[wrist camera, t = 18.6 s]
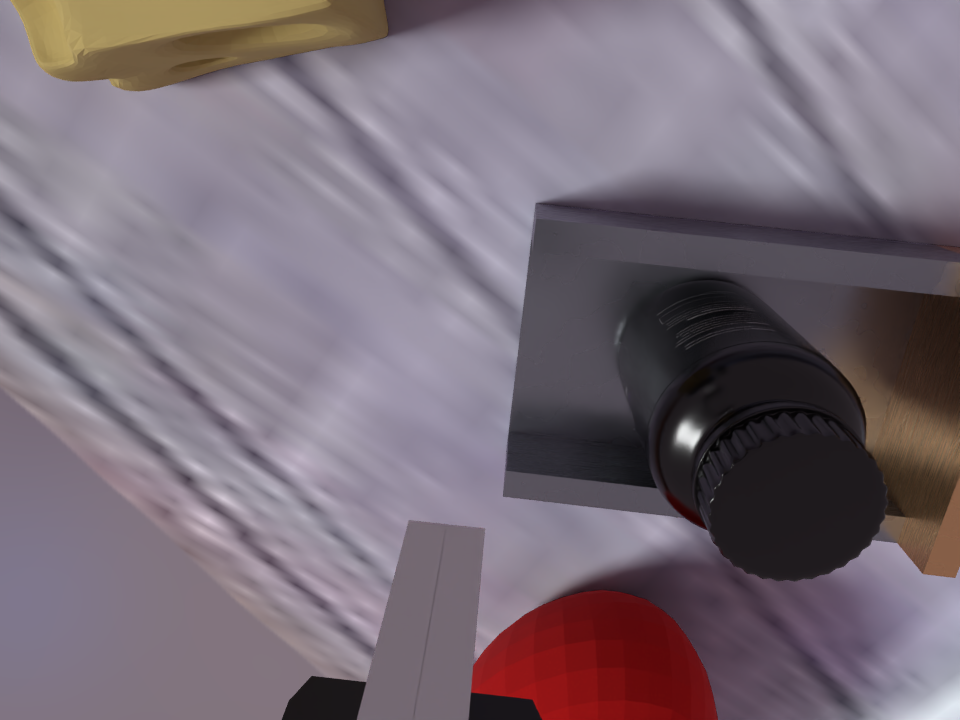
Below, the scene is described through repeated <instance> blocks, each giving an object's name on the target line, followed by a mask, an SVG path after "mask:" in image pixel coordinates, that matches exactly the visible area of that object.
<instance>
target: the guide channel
mask: <svg viewBox="0 0 960 720" xmlns="http://www.w3.org/2000/svg"><path fill="white" fill-rule="evenodd" d="M700 280H715V281H723V282H727V283H731V284H734V285H737V286H740V287H742V288H744V289H746V290H748V291H750V292H751V293H753V294H755V295H756V296H757V297H759V298H760V299H761V300H762V301H764V302H765V303H766V304H767V305H768V306H770V307H771V308H772V309H773V310H774V311H775V312H776V313H777V314H778V315H779V316H781V317H782V318H783V319H784V320H785V321H786V322H787V323H788V324H789V325H790V326H792V327H793V328H794V329H795V330H796V331H797V332H798V333H799V334H800V335H801V336H803V337H804V338H805V339H806V340H807V341H808V342H809V343H810V344H811V345H812V346H814V347H815V348H816V349H817V350H818V351H819V352H820V353H821V354H822V355H823V356H825V357H826V358H827V359H828V360H829V361H830V362H831V363H832V364H833V365H834V366H835V367H837V369H838V370H839V371H840V372H841V373H842V374H843V375H844V376H845V377H846V378H847V380H848V381H849V382H850V383H851V384H852V386H853V387H854V389H855V390H856V392H857V394H858V396H859V398H860V400H861V403H862V405H863V408H864V411H865V416H866V420H867V429H868V440H867V450H868V451H869V452H870V453H871V454H872V455H873V457H874V458H875V460H876V464H877V465H878V467H879V468H880V469H881V470H882V472H883V475H884V480H883V481H884V482H885V484H886V485H887V488H888V489H887V494H886V498H887V500H888V505H887V507H886V509H885V517H886V518H885V519H884V521H883V522H882V523H881V524H880V531H879V533H878V534H877V535H876V536H874V537H873V538H872V540H876V541H885V542H893V543H898V544H899V546H900V547H901V548H902V549H903V550H904V552H905V553H906V554H907V555H908V557H909V558H910V559H911V560H912V561H913V563H914V564H915V565H916V566H917V567H918V569H919V570H920V571H921V572H922V574H927V575H936V576H944V577H952V578H955V577H956V575H957V572H958V569H959V567H960V247H952V246H943V245H933V244H924V243H914V242H904V241H895V240H885V239H875V238H866V237H856V236H846V235H837V234H827V233H818V232H808V231H798V230H789V229H779V228H769V227H760V226H750V225H740V224H731V223H721V222H711V221H702V220H692V219H683V218H673V217H663V216H654V215H644V214H634V213H625V212H615V211H605V210H596V209H586V208H577V207H567V206H557V205H548V204H538V203H536V206H535V214H534V223H533V231H532V240H531V248H530V257H529V265H528V274H527V282H526V290H525V299H524V307H523V316H522V324H521V333H520V341H519V350H518V358H517V366H516V375H515V383H514V392H513V400H512V409H511V417H510V425H509V434H508V442H507V451H506V464H505V477H504V490H503V497H512V498H520V499H529V500H537V501H546V502H554V503H563V504H571V505H580V506H588V507H596V508H605V509H613V510H622V511H630V512H639V513H647V514H656V515H664V516H673V517H681V518H684V517H682V516H681V515H680V514H679V513H677V512H676V511H675V510H674V509H673V508H672V507H671V506H670V505H669V504H668V503H667V501H666V500H665V499H664V498H663V496H662V495H661V493H660V491H659V490H658V488H657V486H656V484H655V482H654V480H653V477H652V475H651V473H650V470H649V467H648V464H647V461H646V458H645V455H644V452H643V449H642V446H641V443H640V440H639V437H638V434H637V431H636V428H635V424H634V421H633V418H632V415H631V412H630V409H629V406H628V403H627V400H626V397H625V394H624V391H623V387H622V383H621V379H620V374H619V362H618V359H619V350H620V345H621V341H622V338H623V335H624V333H625V331H626V329H627V327H628V325H629V323H630V322H631V320H632V319H633V317H634V316H635V315H636V313H637V312H638V311H639V310H640V309H641V308H642V307H643V306H644V305H645V304H646V303H647V302H648V301H649V300H651V299H652V298H653V297H655V296H656V295H658V294H659V293H661V292H663V291H665V290H667V289H669V288H671V287H674V286H676V285H679V284H683V283H687V282H692V281H700Z"/></svg>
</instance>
